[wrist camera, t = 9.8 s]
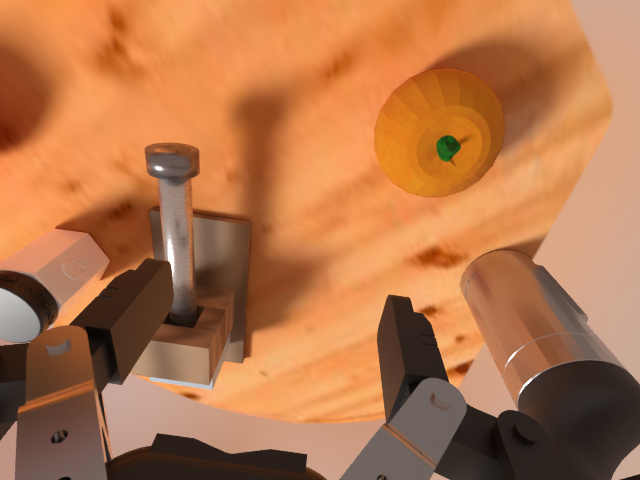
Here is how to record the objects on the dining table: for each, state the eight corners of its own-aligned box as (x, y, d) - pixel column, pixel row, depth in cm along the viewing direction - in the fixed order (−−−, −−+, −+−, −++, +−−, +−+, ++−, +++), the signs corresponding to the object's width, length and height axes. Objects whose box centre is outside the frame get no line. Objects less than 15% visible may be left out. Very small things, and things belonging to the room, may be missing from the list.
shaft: (159, 140, 34) (134, 152, 30) (206, 147, 34) (187, 161, 30) (174, 324, 46) (158, 351, 42) (209, 329, 46) (196, 356, 42)
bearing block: (250, 221, 43) (222, 275, 33) (244, 358, 55) (222, 428, 45) (153, 206, 43) (95, 256, 33) (167, 347, 55) (128, 415, 45)
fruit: (379, 190, 41) (389, 231, 32) (362, 81, 35) (368, 94, 26) (487, 170, 39) (529, 207, 30) (486, 51, 33) (537, 54, 25)
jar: (122, 272, 48) (61, 336, 38) (77, 289, 50) (7, 353, 40) (78, 217, 45) (-4, 270, 34) (31, 237, 46) (-60, 294, 36)
